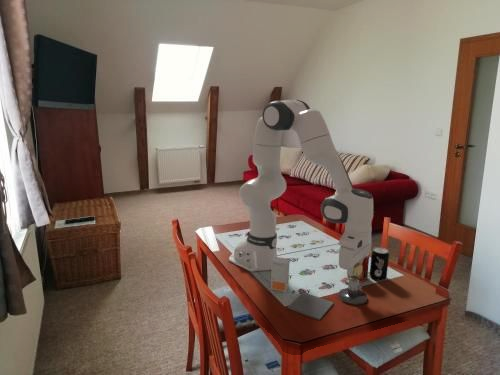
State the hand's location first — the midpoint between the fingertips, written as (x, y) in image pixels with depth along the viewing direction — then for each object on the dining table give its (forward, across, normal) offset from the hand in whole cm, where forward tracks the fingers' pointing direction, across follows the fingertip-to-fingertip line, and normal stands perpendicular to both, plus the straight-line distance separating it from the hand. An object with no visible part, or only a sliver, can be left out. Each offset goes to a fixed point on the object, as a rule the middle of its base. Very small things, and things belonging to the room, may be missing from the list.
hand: (354, 271), depth 133 cm
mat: (+10, +15, -9) cm, 20 cm away
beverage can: (+11, -21, +2) cm, 24 cm away
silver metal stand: (+10, 0, 0) cm, 10 cm away
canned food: (+11, -16, -5) cm, 20 cm away
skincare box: (+11, +12, -24) cm, 29 cm away
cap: (+1, 0, 0) cm, 1 cm away
